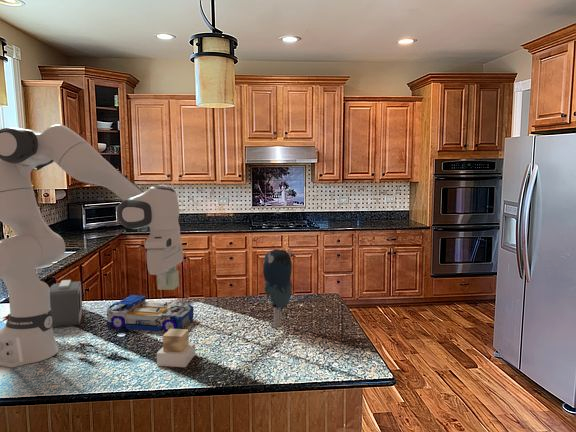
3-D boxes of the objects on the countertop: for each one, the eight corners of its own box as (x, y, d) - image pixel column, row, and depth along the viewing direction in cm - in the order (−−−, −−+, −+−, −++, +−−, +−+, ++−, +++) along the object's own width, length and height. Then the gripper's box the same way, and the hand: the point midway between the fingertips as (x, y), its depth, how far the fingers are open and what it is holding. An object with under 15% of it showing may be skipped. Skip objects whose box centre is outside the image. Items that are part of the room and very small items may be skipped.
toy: (279, 319, 173) (279, 245, 170) (300, 325, 167) (300, 249, 164) (256, 328, 163) (256, 250, 160) (277, 335, 156) (277, 254, 153)
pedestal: (157, 365, 131) (156, 353, 131) (168, 353, 140) (168, 341, 140) (185, 367, 130) (185, 354, 130) (195, 354, 139) (194, 342, 139)
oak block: (163, 351, 132) (162, 335, 132) (170, 343, 138) (170, 328, 137) (182, 352, 131) (181, 336, 131) (188, 344, 137) (188, 329, 137)
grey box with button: (79, 326, 163) (77, 286, 162) (45, 330, 159) (43, 289, 158) (82, 313, 178) (80, 276, 177) (51, 316, 174) (49, 279, 173)
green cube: (157, 289, 132) (156, 273, 131) (163, 285, 137) (163, 270, 136) (173, 289, 131) (172, 273, 131) (179, 285, 136) (178, 269, 136)
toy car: (177, 334, 157) (177, 308, 156) (104, 329, 162) (103, 303, 161) (194, 320, 173) (194, 295, 172) (127, 315, 178) (126, 291, 177)
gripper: (168, 233, 143) (170, 274, 144) (141, 243, 123) (144, 291, 124) (186, 233, 142) (188, 274, 144) (162, 243, 122) (165, 291, 123)
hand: (168, 282), depth 134 cm, fingers closed on green cube, 5 cm apart
